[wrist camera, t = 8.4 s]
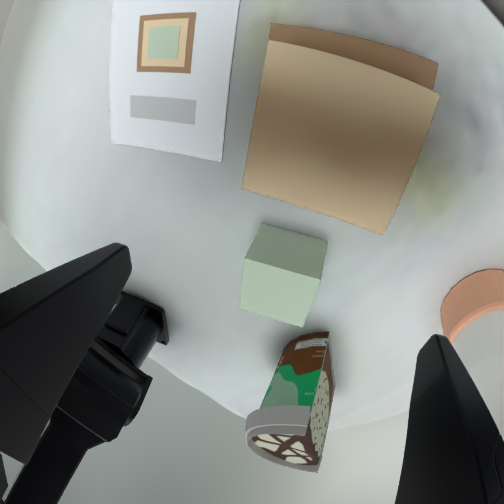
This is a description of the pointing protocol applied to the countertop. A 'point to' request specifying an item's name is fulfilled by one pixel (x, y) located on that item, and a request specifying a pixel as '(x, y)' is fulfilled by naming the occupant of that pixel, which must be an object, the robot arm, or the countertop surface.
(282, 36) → the walnut base
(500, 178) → the countertop surface
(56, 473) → the robot arm
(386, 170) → the oak brick
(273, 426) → the food container
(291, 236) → the sage brick
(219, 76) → the page
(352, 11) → the countertop surface
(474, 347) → the pepper shaker
